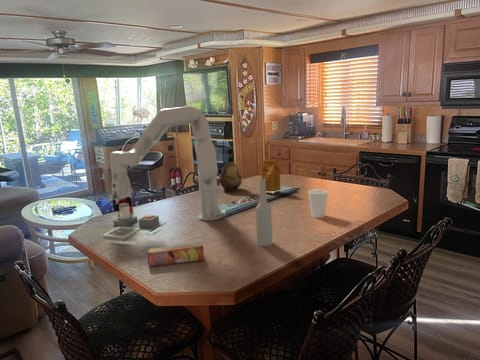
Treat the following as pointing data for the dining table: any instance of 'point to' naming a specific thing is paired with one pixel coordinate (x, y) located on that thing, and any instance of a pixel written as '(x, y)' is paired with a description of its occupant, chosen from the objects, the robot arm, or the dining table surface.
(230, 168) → the ceramic jug
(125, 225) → the housing
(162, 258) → the snack package
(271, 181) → the coffee package
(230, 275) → the dining table surface
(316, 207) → the foam cup
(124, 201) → the canned food
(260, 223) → the bottle
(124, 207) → the cylinder
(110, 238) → the tray
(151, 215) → the tan rounded piece
